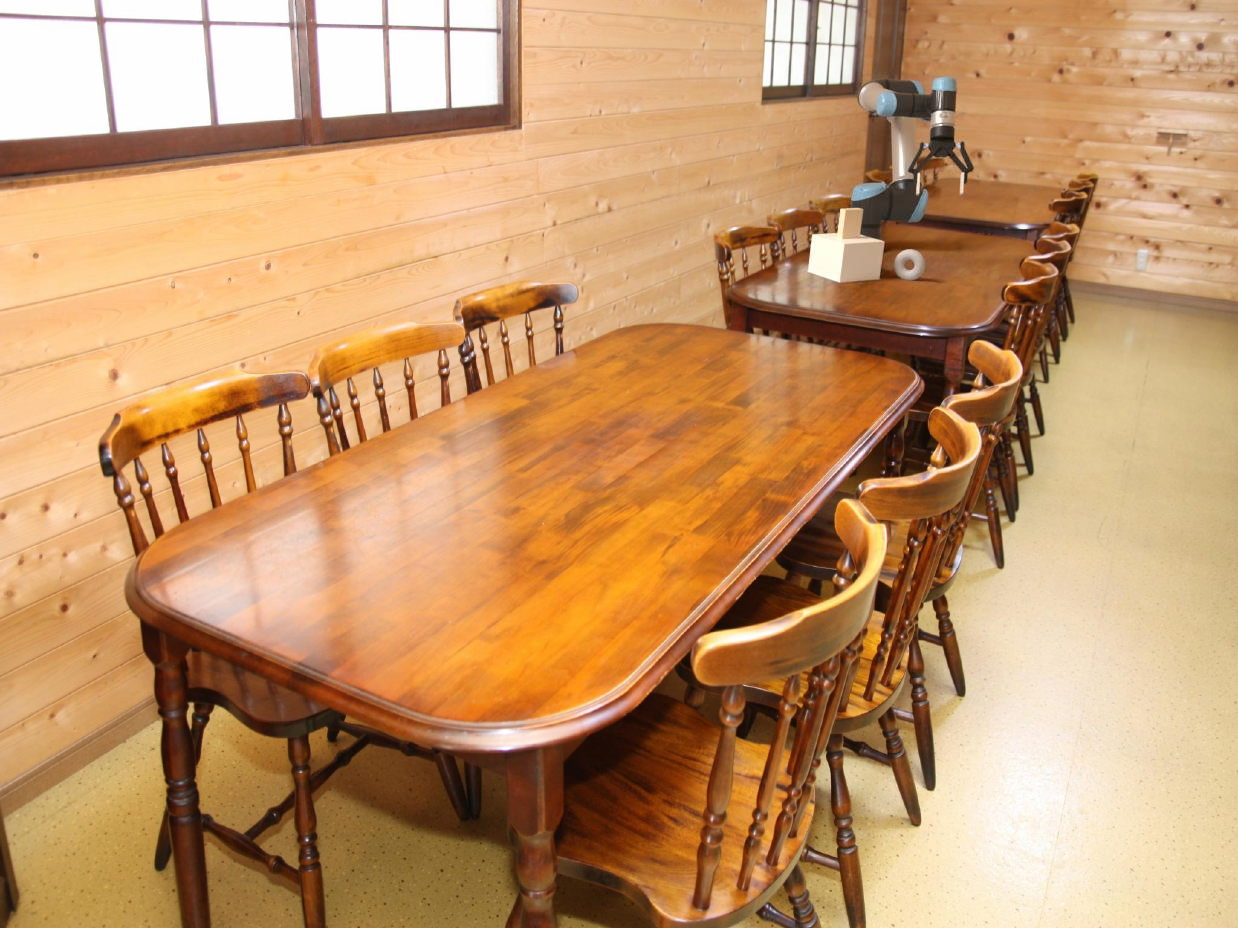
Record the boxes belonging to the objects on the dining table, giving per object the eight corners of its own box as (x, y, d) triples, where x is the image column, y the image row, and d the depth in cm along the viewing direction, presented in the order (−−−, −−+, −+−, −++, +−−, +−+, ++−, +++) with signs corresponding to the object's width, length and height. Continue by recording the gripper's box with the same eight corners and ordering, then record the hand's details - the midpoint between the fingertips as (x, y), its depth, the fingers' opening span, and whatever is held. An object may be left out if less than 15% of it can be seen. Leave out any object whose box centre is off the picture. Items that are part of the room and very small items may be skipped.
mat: (805, 272, 333) (805, 270, 333) (846, 269, 341) (847, 267, 341) (839, 284, 320) (839, 282, 320) (881, 280, 327) (881, 278, 327)
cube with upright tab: (807, 271, 333) (815, 205, 325) (846, 268, 340) (855, 204, 332) (839, 282, 320) (848, 214, 312) (879, 278, 327) (888, 212, 319)
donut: (890, 279, 330) (894, 247, 326) (893, 277, 333) (898, 246, 329) (920, 284, 325) (925, 252, 321) (924, 282, 328) (929, 250, 324)
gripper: (903, 125, 331) (900, 191, 332) (984, 123, 326) (981, 191, 327) (901, 131, 338) (898, 197, 339) (981, 130, 333) (978, 196, 334)
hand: (939, 194), depth 333 cm, fingers open, 13 cm apart
